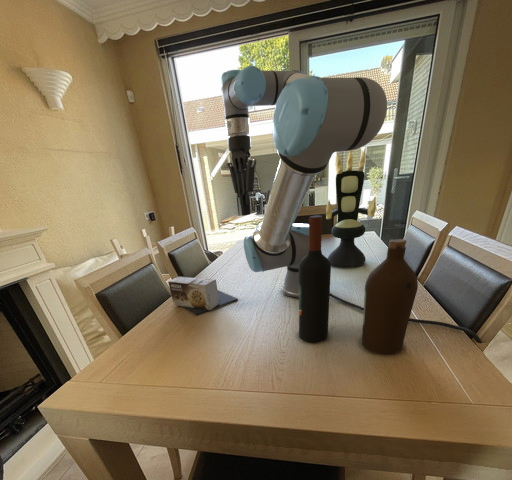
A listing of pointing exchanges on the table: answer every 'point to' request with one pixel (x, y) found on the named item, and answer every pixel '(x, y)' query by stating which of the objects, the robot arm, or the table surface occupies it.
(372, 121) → the robot arm
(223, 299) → the placemat
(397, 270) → the olive oil
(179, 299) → the coffee box
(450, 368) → the table surface
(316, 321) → the wine bottle
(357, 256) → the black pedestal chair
